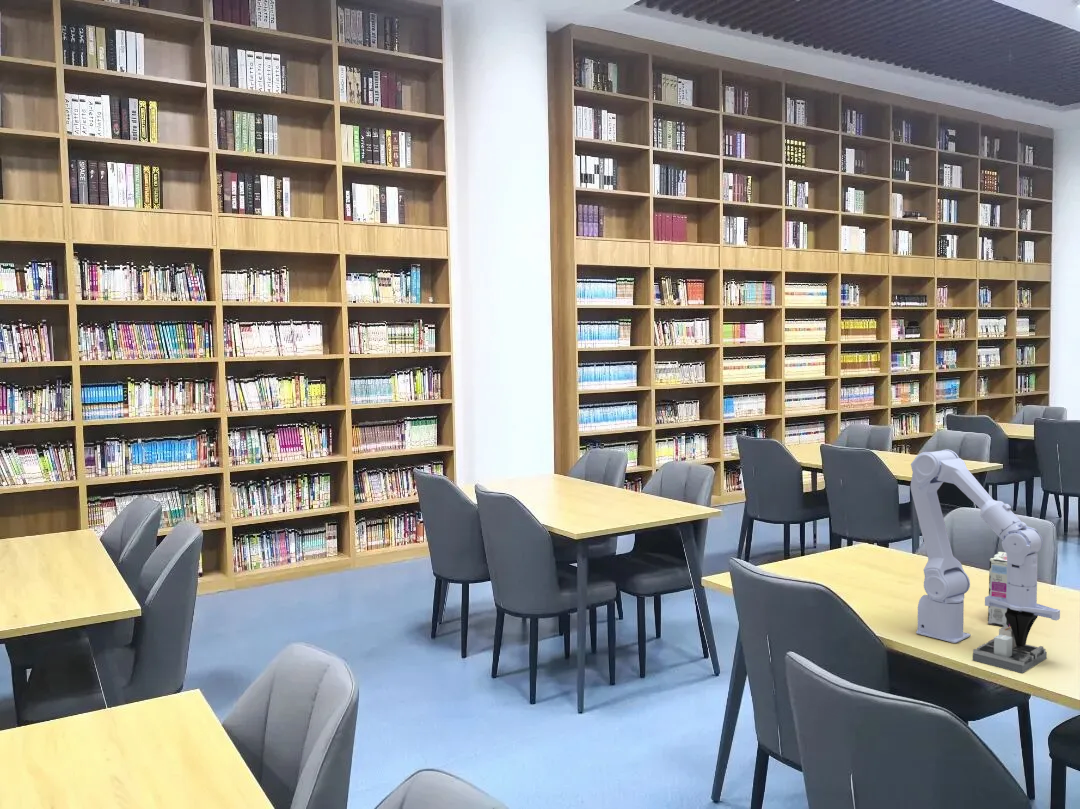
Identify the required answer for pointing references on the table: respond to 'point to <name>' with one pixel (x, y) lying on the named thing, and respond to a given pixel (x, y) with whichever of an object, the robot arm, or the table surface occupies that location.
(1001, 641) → the block
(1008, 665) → the grey divided tray
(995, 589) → the candy bar box
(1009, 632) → the fader
